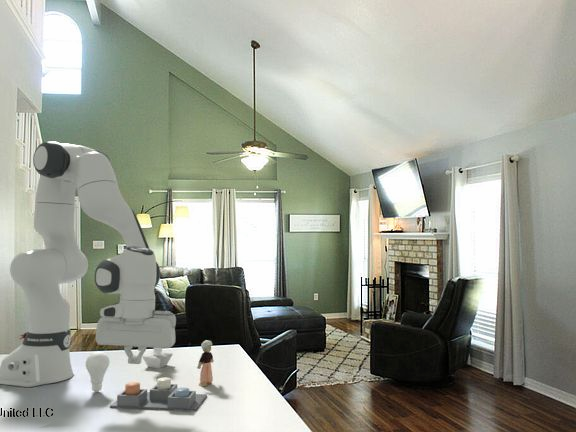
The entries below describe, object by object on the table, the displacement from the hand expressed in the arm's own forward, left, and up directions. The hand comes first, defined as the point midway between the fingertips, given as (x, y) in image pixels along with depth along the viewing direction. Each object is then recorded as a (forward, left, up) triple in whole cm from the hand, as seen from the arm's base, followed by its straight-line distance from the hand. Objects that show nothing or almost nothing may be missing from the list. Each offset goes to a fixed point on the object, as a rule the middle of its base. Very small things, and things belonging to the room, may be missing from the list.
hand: (134, 363), depth 121 cm
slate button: (+13, 0, -9) cm, 16 cm away
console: (+6, +2, -10) cm, 12 cm away
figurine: (-7, +36, -11) cm, 38 cm away
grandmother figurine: (+14, +19, -11) cm, 26 cm away
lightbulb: (-14, +8, -11) cm, 19 cm away
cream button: (+6, +5, -8) cm, 11 cm away
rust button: (0, 0, -8) cm, 8 cm away
